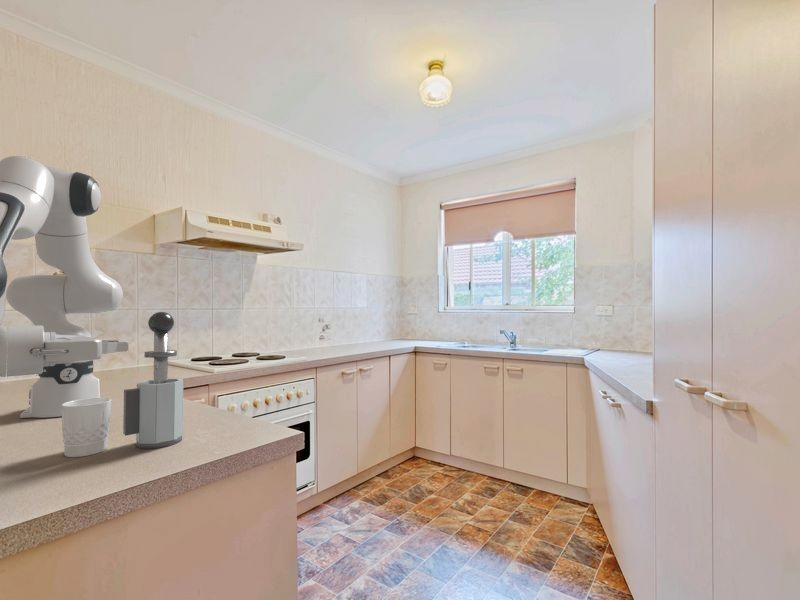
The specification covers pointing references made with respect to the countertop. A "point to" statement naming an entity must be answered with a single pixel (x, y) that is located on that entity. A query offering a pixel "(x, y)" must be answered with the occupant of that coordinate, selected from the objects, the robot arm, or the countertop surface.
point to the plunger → (161, 345)
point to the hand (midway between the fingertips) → (122, 345)
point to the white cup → (85, 426)
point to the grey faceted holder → (154, 413)
